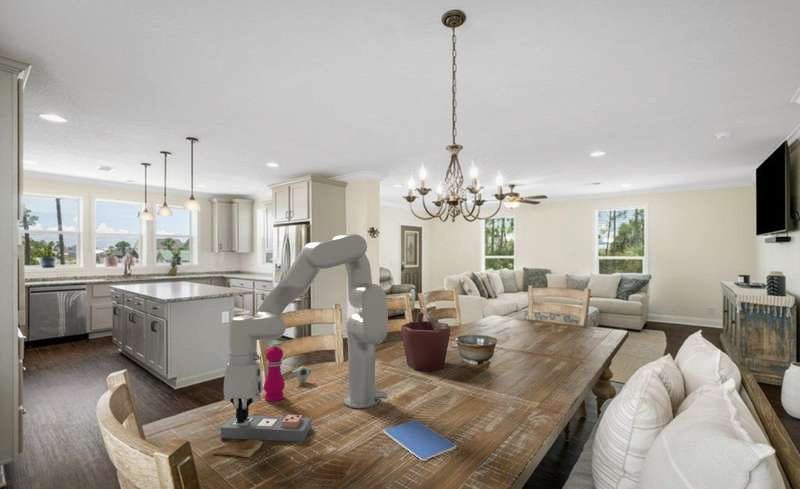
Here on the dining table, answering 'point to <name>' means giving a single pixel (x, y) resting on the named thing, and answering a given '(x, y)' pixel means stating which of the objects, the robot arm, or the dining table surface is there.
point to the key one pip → (267, 422)
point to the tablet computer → (419, 439)
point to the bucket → (425, 343)
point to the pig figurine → (302, 373)
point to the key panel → (266, 430)
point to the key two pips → (243, 422)
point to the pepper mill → (274, 374)
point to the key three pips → (292, 421)
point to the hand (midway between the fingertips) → (242, 420)
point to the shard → (240, 448)
